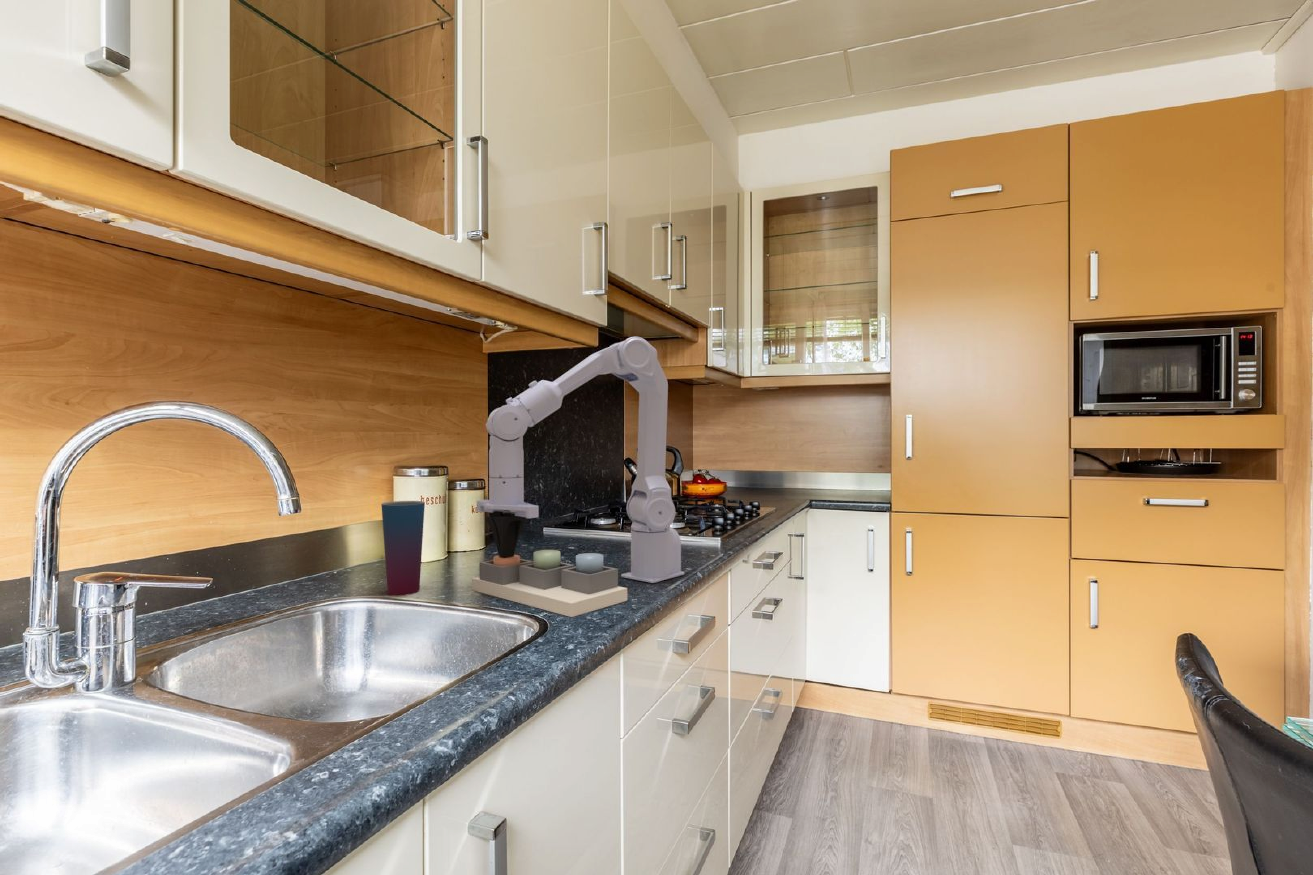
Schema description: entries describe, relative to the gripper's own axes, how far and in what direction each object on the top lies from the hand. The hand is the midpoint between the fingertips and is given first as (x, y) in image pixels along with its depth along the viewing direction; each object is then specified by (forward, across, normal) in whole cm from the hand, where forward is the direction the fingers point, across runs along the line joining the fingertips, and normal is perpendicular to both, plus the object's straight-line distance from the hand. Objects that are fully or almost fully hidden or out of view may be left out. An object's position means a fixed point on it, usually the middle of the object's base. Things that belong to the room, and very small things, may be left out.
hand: (506, 557), depth 109 cm
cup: (+6, -13, -12) cm, 18 cm away
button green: (+1, +7, +2) cm, 8 cm away
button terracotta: (+2, 0, 0) cm, 2 cm away
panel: (+6, +8, +2) cm, 10 cm away
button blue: (+1, +15, +5) cm, 16 cm away
